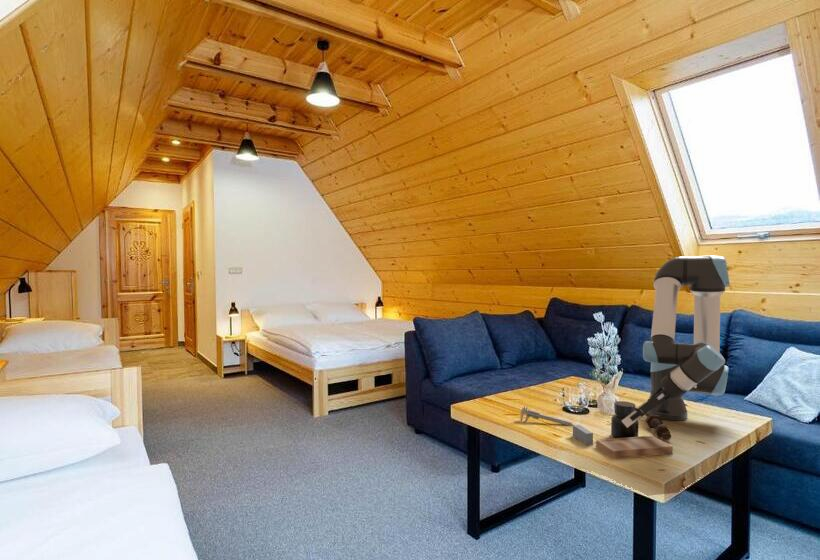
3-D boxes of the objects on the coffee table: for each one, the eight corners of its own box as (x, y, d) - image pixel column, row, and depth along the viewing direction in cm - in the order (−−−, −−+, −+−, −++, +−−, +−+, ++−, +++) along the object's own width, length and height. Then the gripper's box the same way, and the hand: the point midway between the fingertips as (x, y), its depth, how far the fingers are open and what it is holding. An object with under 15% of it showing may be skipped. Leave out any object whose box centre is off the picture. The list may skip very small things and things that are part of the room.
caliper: (520, 421, 189) (520, 406, 188) (520, 420, 190) (520, 405, 189) (575, 426, 182) (575, 410, 182) (575, 425, 183) (575, 409, 183)
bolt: (664, 446, 166) (651, 430, 181) (678, 440, 165) (663, 425, 180) (655, 432, 166) (643, 417, 181) (669, 425, 165) (655, 411, 180)
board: (651, 442, 165) (651, 435, 165) (672, 453, 155) (672, 446, 155) (596, 446, 161) (596, 439, 161) (613, 458, 151) (613, 450, 151)
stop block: (579, 435, 172) (579, 424, 172) (592, 444, 163) (592, 433, 163) (572, 436, 172) (572, 425, 172) (586, 445, 163) (586, 433, 163)
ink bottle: (639, 435, 172) (639, 402, 172) (640, 443, 164) (640, 408, 164) (610, 431, 176) (610, 399, 176) (609, 439, 168) (609, 405, 168)
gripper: (680, 399, 146) (628, 438, 156) (693, 384, 166) (646, 419, 175) (661, 380, 150) (611, 418, 159) (676, 367, 169) (631, 402, 179)
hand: (629, 419), depth 167 cm, fingers open, 13 cm apart
